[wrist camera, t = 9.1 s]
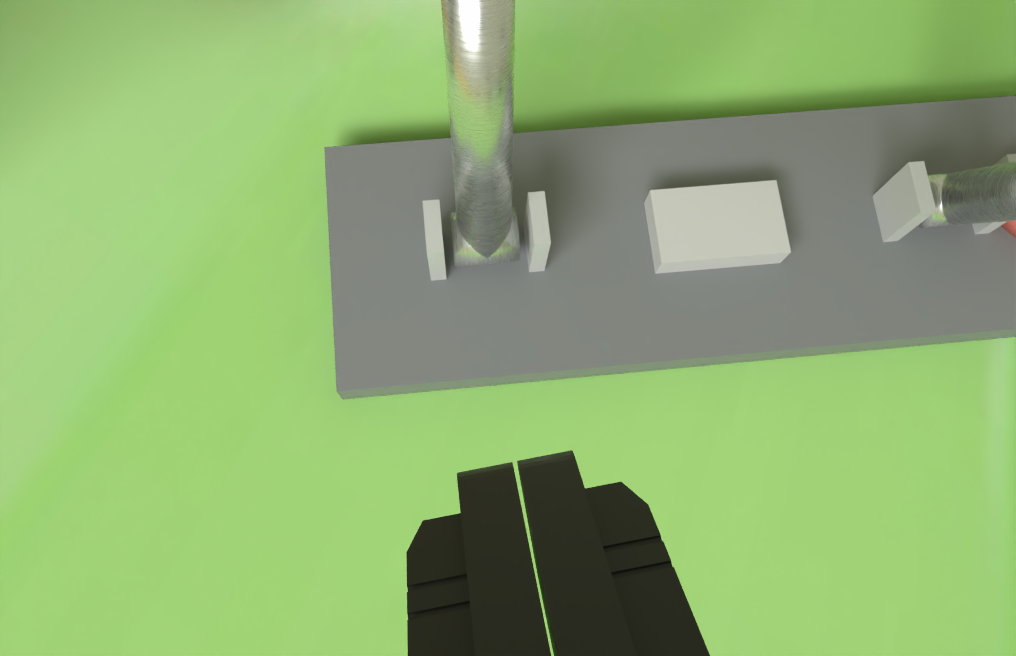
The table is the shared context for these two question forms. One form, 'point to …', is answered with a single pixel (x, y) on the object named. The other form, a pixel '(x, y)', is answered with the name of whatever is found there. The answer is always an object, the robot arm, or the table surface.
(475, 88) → the metal lever
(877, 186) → the switch panel
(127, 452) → the table surface
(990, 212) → the silver metal rod
